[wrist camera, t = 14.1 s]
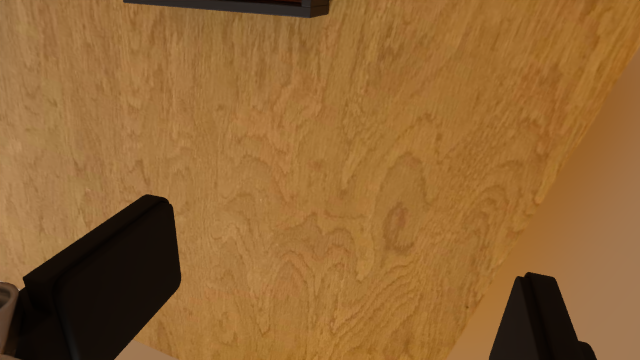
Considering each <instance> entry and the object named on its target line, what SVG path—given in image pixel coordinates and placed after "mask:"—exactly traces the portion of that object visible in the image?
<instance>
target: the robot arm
mask: <svg viewBox="0 0 640 360" xmlns="http://www.w3.org/2000/svg"><path fill="white" fill-rule="evenodd" d="M23 281H24V284H25V287H24V288H23V289H22V290H20V291H19V290H18V289H17V288H16V286H15V285H13V284H10V283H7V282H0V360H114V359H115V358H116V357H117V356H118V355H119V353H120V352H121V351H122V350H123V349H124V348H125V347H126V346H127V345H128V343H130V341H131V340H132V339H133V338H134V337H135V336H136V335H137V334H138V333H139V331H140V330H141V329H142V328H143V327H144V326H145V325H146V324H147V323H148V321H149V320H150V319H151V318H152V317H153V316H154V315H155V314H156V313H157V312H158V310H159V309H160V308H161V307H162V306H163V305H164V304H165V303H166V302H167V300H168V299H169V298H170V297H171V296H172V295H173V294H174V293H175V292H176V290H177V289H178V287H179V286H180V283H181V271H180V262H179V254H178V245H177V237H176V228H175V220H174V211H173V207H172V205H171V204H169V201H168V200H167V199H166V198H164V197H159V196H154V195H149V194H146V195H144V196H142V197H141V198H139V199H138V200H136V201H135V202H133V203H132V204H130V205H129V206H127V207H126V208H124V209H123V210H121V211H120V212H118V213H117V214H115V215H114V216H113V217H111V218H110V219H108V220H107V221H105V222H104V223H102V224H101V225H99V226H98V227H96V228H95V229H93V230H92V231H90V232H89V233H87V234H86V235H84V236H83V237H82V238H80V239H79V240H77V241H76V242H74V243H73V244H71V245H70V246H68V247H67V248H65V249H64V250H62V251H61V252H59V253H58V254H56V255H55V256H54V257H52V258H51V259H49V260H48V261H46V262H45V263H43V264H42V265H40V266H39V267H37V268H36V269H34V270H33V271H31V272H30V273H28V274H27V275H25V276H24V277H23ZM489 360H597V359H596V356H595V354H594V351H593V350H592V348H591V346H590V345H589V344H588V343H585V342H581V341H578V339H577V336H576V333H575V331H574V328H573V325H572V323H571V319H570V317H569V314H568V311H567V309H566V306H565V303H564V301H563V298H562V295H561V292H560V290H559V287H558V284H557V281H556V279H555V278H554V277H550V276H546V275H541V274H536V273H531V272H527V273H526V274H525V276H524V277H520V276H517V277H516V279H515V281H514V285H513V288H512V290H511V294H510V296H509V300H508V302H507V306H506V308H505V311H504V314H503V317H502V320H501V323H500V326H499V329H498V332H497V335H496V338H495V341H494V344H493V347H492V350H491V353H490V356H489Z"/></svg>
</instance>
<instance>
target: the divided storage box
mask: <svg viewBox="0 0 640 360" xmlns="http://www.w3.org/2000/svg"><path fill="white" fill-rule="evenodd" d="M123 2H124V3H133V4H145V5H158V6H170V7H182V8H194V9H206V10H218V11H230V12H243V13H255V14H267V15H279V16H291V17H303V18H312V17H317V16H322V15H327V14H328V10H329V0H123Z"/></svg>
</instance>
